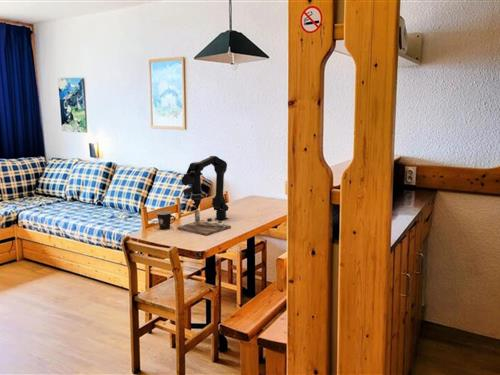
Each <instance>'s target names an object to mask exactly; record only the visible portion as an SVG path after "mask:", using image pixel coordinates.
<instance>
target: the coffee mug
mask: <svg viewBox="0 0 500 375" xmlns="http://www.w3.org/2000/svg"><path fill="white" fill-rule="evenodd" d="M156 216H157V219H158V220H157V221H158V225H159V230H163V231H165V230H169V229H171V225H172V224H173V223H174V222H175V220H176V217H175V216H174V215H172V212H171V211H169V210H168V211H166V210H165V211H159V212H157V213H156ZM172 217H173V220H172V219H171V218H172ZM171 220H172V221H171Z"/></svg>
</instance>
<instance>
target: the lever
mask: <svg viewBox="0 0 500 375" xmlns="http://www.w3.org/2000/svg"><path fill="white" fill-rule="evenodd" d="M200 213H201V212H200V209H195V210H194V220H195V221H194V222H197V224H204V225H215V226H218V227H222V226H224V224H225V222H224V221H223V220H217V221H212V222H209V221H207V220H204V221H200V220H201V215H200Z"/></svg>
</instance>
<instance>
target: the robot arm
mask: <svg viewBox="0 0 500 375" xmlns="http://www.w3.org/2000/svg"><path fill="white" fill-rule="evenodd" d="M210 165H211V166H212V167H213V168H214V172H215V174H216V176H215V177H216V179H215V180H216V181H215V196H214V197H212V199H211V200H212V202H211V204H212V208H213V210H214V211H215V212H216V213H215V215H216V216H215V217H214V219H215V220H217V219H218V220H217V221H224V220H228V219H229V217H227V211H228V210H229V206H228V204H227V203H226V199H225V197H224V196H225V195H224V186H225V184H224V180H225V173H226V172H227V169H228V168H227V167H228V162H227V161H225V160H224V159H222V158H219V156H216V155H210V156H209V157H207V158H205V159H202V160H200V161H196V162H195V161H194V162H191V163H189V165H188V169H187V170H186V173H184V174H183V176H182V177H181V183H182V185H183V186H190V187H186V188H184V189H182V193H183V195H184V196H187V195H188V194H189V195H190V194H191V195H190V198H191V200H192V201H193V202H194V206H195V210H199V207H200V204H201V201H202V196H203V190H202V180H201V176H203V175H204V174H203V173H202V171H203V170H204V168H206V167H208V166H210Z"/></svg>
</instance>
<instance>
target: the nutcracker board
mask: <svg viewBox="0 0 500 375" xmlns="http://www.w3.org/2000/svg"><path fill="white" fill-rule="evenodd" d="M206 219H207V220H206V221H209V222H213V219H212V218H210V217H209V218H206ZM200 221H205V220H204V219H203V220H202V219H200ZM231 228H232V226H231V225H229V224H225V223H224V226H222V227H218V226H215V225H204V224H197V222H196V221H194V222H191V223H186V224H183V225H180V226H177V230H180V231H184V232H189V233H193V234H197V235H200V236H201V235H202V236H206V237H207V236H212V235H214V234H216V233H220V232H223V231H227V230H229V229H231Z"/></svg>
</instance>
